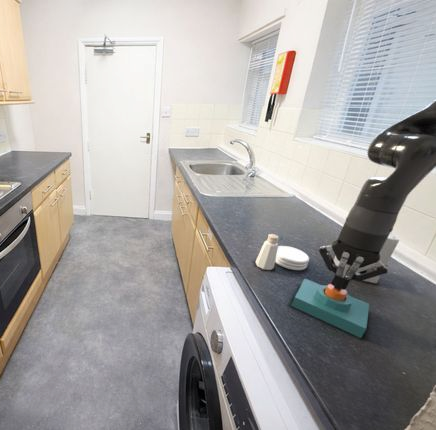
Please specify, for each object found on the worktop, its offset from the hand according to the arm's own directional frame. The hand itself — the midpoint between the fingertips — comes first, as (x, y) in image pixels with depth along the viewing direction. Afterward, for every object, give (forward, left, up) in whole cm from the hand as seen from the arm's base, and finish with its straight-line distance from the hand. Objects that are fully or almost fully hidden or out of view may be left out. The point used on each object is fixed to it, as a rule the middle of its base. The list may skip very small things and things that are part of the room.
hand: (337, 287), depth 65 cm
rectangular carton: (-3, -26, -7) cm, 27 cm away
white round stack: (+13, -17, -7) cm, 23 cm away
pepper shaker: (+18, -9, -7) cm, 21 cm away
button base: (0, 0, -7) cm, 7 cm away
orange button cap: (0, 0, -2) cm, 2 cm away
